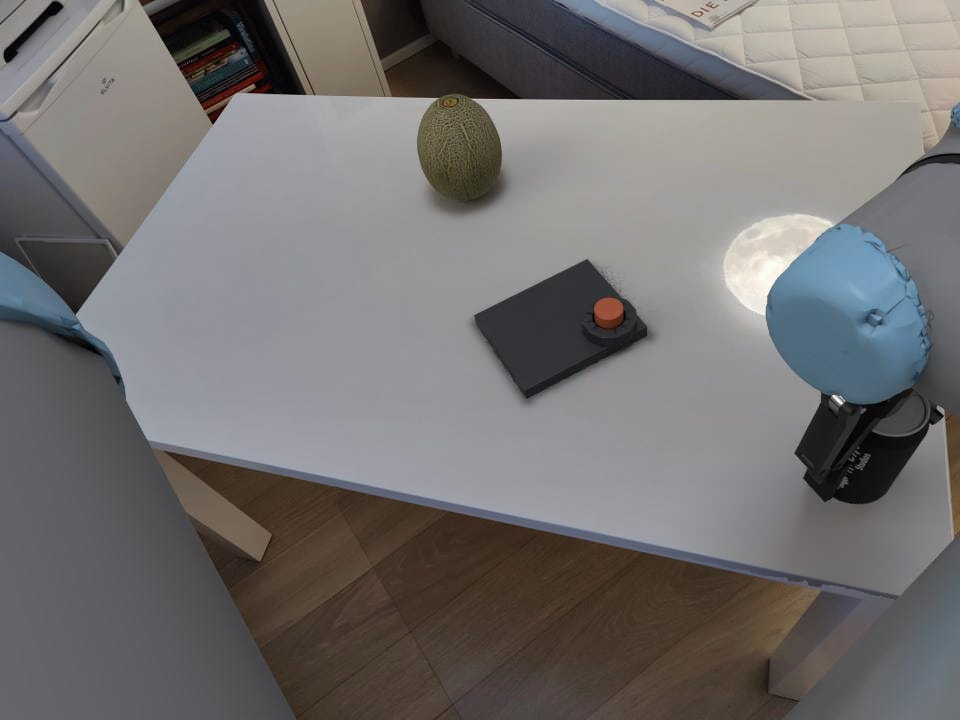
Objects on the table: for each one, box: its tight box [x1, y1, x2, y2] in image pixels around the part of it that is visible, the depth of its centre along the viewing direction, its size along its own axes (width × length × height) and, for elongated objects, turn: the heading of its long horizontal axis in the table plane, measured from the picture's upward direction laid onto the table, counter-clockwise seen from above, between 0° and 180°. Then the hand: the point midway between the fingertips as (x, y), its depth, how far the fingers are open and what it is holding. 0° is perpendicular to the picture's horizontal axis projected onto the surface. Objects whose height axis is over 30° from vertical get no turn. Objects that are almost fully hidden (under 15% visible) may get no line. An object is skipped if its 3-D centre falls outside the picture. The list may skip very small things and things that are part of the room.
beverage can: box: [832, 393, 931, 505], centre depth 59 cm, size 7×7×12 cm
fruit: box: [416, 93, 503, 202], centre depth 96 cm, size 11×11×15 cm
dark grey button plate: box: [473, 258, 648, 399], centre depth 83 cm, size 16×14×4 cm
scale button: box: [594, 298, 623, 329], centre depth 79 cm, size 3×3×2 cm
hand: (850, 469), depth 63 cm, fingers closed on beverage can, 7 cm apart
